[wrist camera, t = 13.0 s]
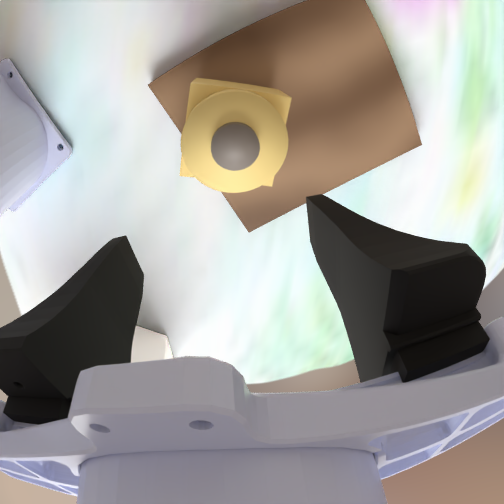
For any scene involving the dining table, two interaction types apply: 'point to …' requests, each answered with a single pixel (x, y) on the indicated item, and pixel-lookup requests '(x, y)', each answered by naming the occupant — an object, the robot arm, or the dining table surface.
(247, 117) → the yellow socket block
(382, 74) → the board
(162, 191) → the dining table surface
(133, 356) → the jar
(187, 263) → the dining table surface
